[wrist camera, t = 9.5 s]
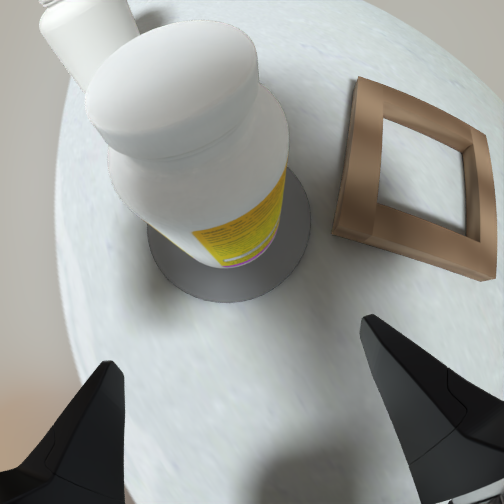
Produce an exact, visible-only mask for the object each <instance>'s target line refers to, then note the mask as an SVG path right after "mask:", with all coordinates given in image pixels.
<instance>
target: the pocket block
mask: <svg viewBox="0 0 504 504" xmlns="http://www.w3.org/2000/svg"><path fill="white" fill-rule="evenodd" d="M383 118H385V119H388V120H390V121H393V122H396V123H398V124H401V125H403V126H406V127H408V128H410V129H413V130H415V131H417V132H420V133H422V134H424V135H426V136H429V137H431V138H433V139H435V140H437V141H439V142H441V143H443V144H445V145H447V146H449V147H451V148H453V149H455V150H457V151H459V152H461V153H462V154H463V163H464V173H465V188H466V236H463V235H461V234H459V233H456V232H454V231H451V230H449V229H447V228H444V227H442V226H439V225H437V224H434V223H432V222H429V221H426V220H424V219H421V218H418V217H416V216H413V215H410V214H408V213H405V212H402V211H399V210H396V209H394V208H391V207H388V206H385V205H382V204H379V203H377V197H378V188H379V178H380V166H381V152H382V134H383ZM331 234H333V235H336V236H340V237H343V238H346V239H350V240H353V241H357V242H360V243H363V244H367V245H370V246H374V247H377V248H380V249H383V250H387V251H390V252H393V253H396V254H400V255H403V256H406V257H409V258H412V259H415V260H418V261H421V262H425V263H428V264H431V265H434V266H437V267H440V268H443V269H446V270H449V271H451V272H454V273H457V274H460V275H463V276H466V277H469V278H472V279H474V280H477V281H480V282H481V281H486V280H491V279H496V267H497V214H496V199H495V189H494V180H493V172H492V165H491V159H490V154H489V148H488V143H487V138H486V135H485V134H483V133H481V132H480V131H478V130H477V129H475V128H473V127H472V126H470V125H468V124H467V123H465V122H463V121H461V120H459V119H458V118H456V117H454V116H452V115H450V114H448V113H446V112H445V111H443V110H441V109H439V108H437V107H435V106H433V105H430V104H428V103H426V102H424V101H422V100H420V99H417V98H415V97H413V96H411V95H408V94H406V93H403V92H401V91H399V90H396V89H394V88H391V87H388V86H386V85H383V84H380V83H377V82H375V81H372V80H369V79H366V78H363V77H360V76H358V79H357V82H356V85H355V88H354V90H353V99H352V108H351V117H350V125H349V133H348V140H347V147H346V154H345V161H344V167H343V173H342V179H341V185H340V191H339V196H338V202H337V207H336V212H335V217H334V222H333V227H332V232H331Z"/></svg>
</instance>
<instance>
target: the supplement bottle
mask: <svg viewBox="0 0 504 504" xmlns="http://www.w3.org/2000/svg"><path fill="white" fill-rule="evenodd" d="M85 110H86V113H87V116H88V118H89V120H90V122H91V123H92V124H93V126H94V127H95V128H96V130H97V131H98V132H99V133H100V135H101V136H102V138H103V139H104V140H105V142H106V143H107V144H108V155H107V164H108V172H109V176H110V179H111V182H112V185H113V187H114V189H115V191H116V193H117V194H118V196H119V198H120V199H121V201H122V202H123V203H124V204H125V205H126V206H127V207H128V208H129V209H130V210H131V211H132V212H133V213H135V214H136V215H137V216H138V217H140V218H141V219H142V220H144V221H145V222H146V223H148V224H149V225H150V226H152V227H153V228H154V229H156V230H157V231H158V232H160V233H161V234H162V235H163V236H165V237H166V238H167V239H169V240H170V241H171V242H173V243H174V244H175V245H176V246H178V247H179V248H180V249H182V250H183V251H184V252H186V253H187V254H188V255H190V256H191V257H192V258H194V259H196V260H197V261H199V262H201V263H203V264H205V265H207V266H211V267H215V268H235V267H239V266H243V265H245V264H248V263H250V262H252V261H253V260H255V259H256V258H258V257H259V256H260V255H261V254H263V253H264V252H265V251H266V249H267V248H268V247H269V246H270V244H271V243H272V241H273V239H274V237H275V235H276V232H277V229H278V226H279V220H280V214H281V207H282V200H283V192H284V184H285V176H286V168H287V161H288V152H289V129H288V124H287V120H286V117H285V114H284V111H283V109H282V107H281V106H280V104H279V102H278V101H277V99H276V98H275V97H274V95H273V94H272V93H271V92H270V91H269V90H268V89H267V88H266V87H265V86H263V85H262V84H260V83H259V72H258V58H257V52H256V48H255V46H254V44H253V42H252V40H251V39H250V37H249V36H248V35H247V34H245V33H244V32H243V31H242V30H240V29H238V28H236V27H234V26H232V25H229V24H226V23H222V22H217V21H212V20H191V21H182V22H177V23H172V24H168V25H164V26H161V27H158V28H155V29H152V30H150V31H148V32H146V33H144V34H141V35H139V36H137V37H136V38H134V39H132V40H131V41H129V42H128V43H126V44H124V45H123V46H121V47H120V48H119V49H118V50H116V51H115V52H114V53H113V54H112V55H111V56H109V57H108V58H107V59H106V60H105V61H104V62H103V64H102V65H101V66H100V67H99V68H98V70H97V71H96V72H95V74H94V76H93V77H92V79H91V81H90V83H89V86H88V89H87V92H86V95H85Z"/></svg>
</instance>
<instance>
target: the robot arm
mask: <svg viewBox="0 0 504 504" xmlns="http://www.w3.org/2000/svg"><path fill="white" fill-rule="evenodd" d="M360 338H361V341H362V344H363V348H364V351H365V354H366V357H367V360H368V364H369V367H370V370H371V373H372V376H373V378H374V381H375V383H376V385H377V388H378V390H379V392H380V395H381V397H382V399H383V402H384V404H385V406H386V409H387V411H388V414H389V416H390V419H391V421H392V424H393V426H394V429H395V431H396V434H397V436H398V439H399V441H400V444H401V447H402V449H403V452H404V455H405V457H406V460H407V463H408V465H409V469H410V471H411V474H412V477H413V480H414V483H415V486H416V489H417V492H418V495H419V498H420V501H421V504H436V503H440V502H443V501H446V500H450V499H452V500H451V501H449V503H448V504H504V401H502V400H500V399H498V398H496V397H495V396H493V395H491V394H489V393H488V392H486V391H484V390H482V389H480V388H479V387H477V386H475V385H474V384H472V383H470V382H469V381H467V380H466V379H464V378H463V377H461V376H460V375H458V374H457V373H455V372H454V371H453V370H451V369H450V368H447V366H446V365H444V364H443V363H442V362H440V361H439V360H437V359H436V358H435V357H433V356H432V355H431V354H429V353H428V352H426V351H425V350H424V349H422V348H421V347H419V346H418V345H417V344H415V343H414V342H412V341H411V340H410V339H408V338H407V337H405V336H404V335H403V334H401V333H400V332H398V331H397V330H396V329H394V328H393V327H391V326H390V325H389V324H387V323H386V322H384V321H383V320H381V319H380V318H379V317H377V316H376V315H374V314H371V315H367V316H364V317H363V318H362V321H361V327H360ZM124 427H125V391H124V375H123V372H122V371H121V370H120V369H119V368H118V366H117V365H116V364H115V363H114V362H113V361H111V360H109V361H102V362H101V363H100V365H99V366H98V367H97V368H96V370H95V371H94V372H93V373H92V375H91V376H90V377H89V378H88V380H87V381H86V382H85V384H84V385H83V386H82V387H81V389H80V390H79V391H78V393H77V394H76V395H75V396H74V398H73V399H72V400H71V402H70V403H69V404H68V406H67V407H66V408H65V410H64V411H63V412H62V414H61V415H60V416H59V418H58V419H57V420H56V422H55V423H54V425H53V426H52V427H51V428H50V430H49V431H48V432H47V434H46V435H45V436H44V438H43V439H42V440H41V442H40V443H39V444H38V445H37V446H36V448H35V449H34V450H33V451H32V452H31V453H30V454H29V456H28V457H27V458H26V459H25V460H24V461H23V462H22V464H20V465H19V466H18V467H16V468H14V469H11V470H7V471H3V472H0V504H125V494H124Z"/></svg>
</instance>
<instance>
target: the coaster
mask: <svg viewBox="0 0 504 504" xmlns="http://www.w3.org/2000/svg"><path fill="white" fill-rule="evenodd" d="M310 226H311V217H310V208H309V203H308V199H307V196H306V193H305V191H304V189H303V187H302V185H301V183H300V182H299V180H298V179H297V177H296V176H295V175H294V173H293V172H292V171H291V170H290V169H289V168H288V167H287V168H286V176H285V184H284V192H283V200H282V207H281V214H280V220H279V226H278V229H277V232H276V235H275V237H274V239H273V241H272V243H271V244H270V246H269V247H268V248H267V249H266V251H265V252H264V253H263V254H261V255H260V256H259V257H258V258H256V259H255V260H253V261H252V262H250V263H248V264H245V265H243V266H239V267H235V268H215V267H211V266H207V265H205V264H203V263H201V262H199V261H197V260H196V259H194V258H192V257H191V256H190V255H188V254H187V253H186V252H184V251H183V250H182V249H180V248H179V247H178V246H176V245H175V244H174V243H173V242H171V241H170V240H169V239H167V238H166V237H165V236H163V235H162V234H161V233H160V232H158V231H157V230H156V229H154V228H153V227H152V226H150V225H149V224H148V223H147V234H148V242H149V246H150V249H151V253H152V255H153V257H154V260H155V262H156V263H157V265H158V267H159V268H160V270H161V271H162V273H163V274H164V275H165V276H166V277H167V279H168V280H170V281H171V282H172V283H173V284H174V285H175V286H176V287H178V288H179V289H181V290H182V291H184V292H186V293H188V294H190V295H192V296H194V297H196V298H200V299H203V300H206V301H212V302H218V303H233V302H242V301H246V300H250V299H253V298H256V297H258V296H261V295H263V294H265V293H267V292H269V291H270V290H272V289H273V288H275V287H276V286H278V285H279V284H280V283H281V282H282V281H284V280H285V279H286V278H287V277H288V276H289V275H290V273H291V272H292V271H293V269H294V268H295V267H296V266H297V264H298V262H299V261H300V259H301V257H302V255H303V253H304V251H305V248H306V246H307V242H308V238H309V234H310Z"/></svg>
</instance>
